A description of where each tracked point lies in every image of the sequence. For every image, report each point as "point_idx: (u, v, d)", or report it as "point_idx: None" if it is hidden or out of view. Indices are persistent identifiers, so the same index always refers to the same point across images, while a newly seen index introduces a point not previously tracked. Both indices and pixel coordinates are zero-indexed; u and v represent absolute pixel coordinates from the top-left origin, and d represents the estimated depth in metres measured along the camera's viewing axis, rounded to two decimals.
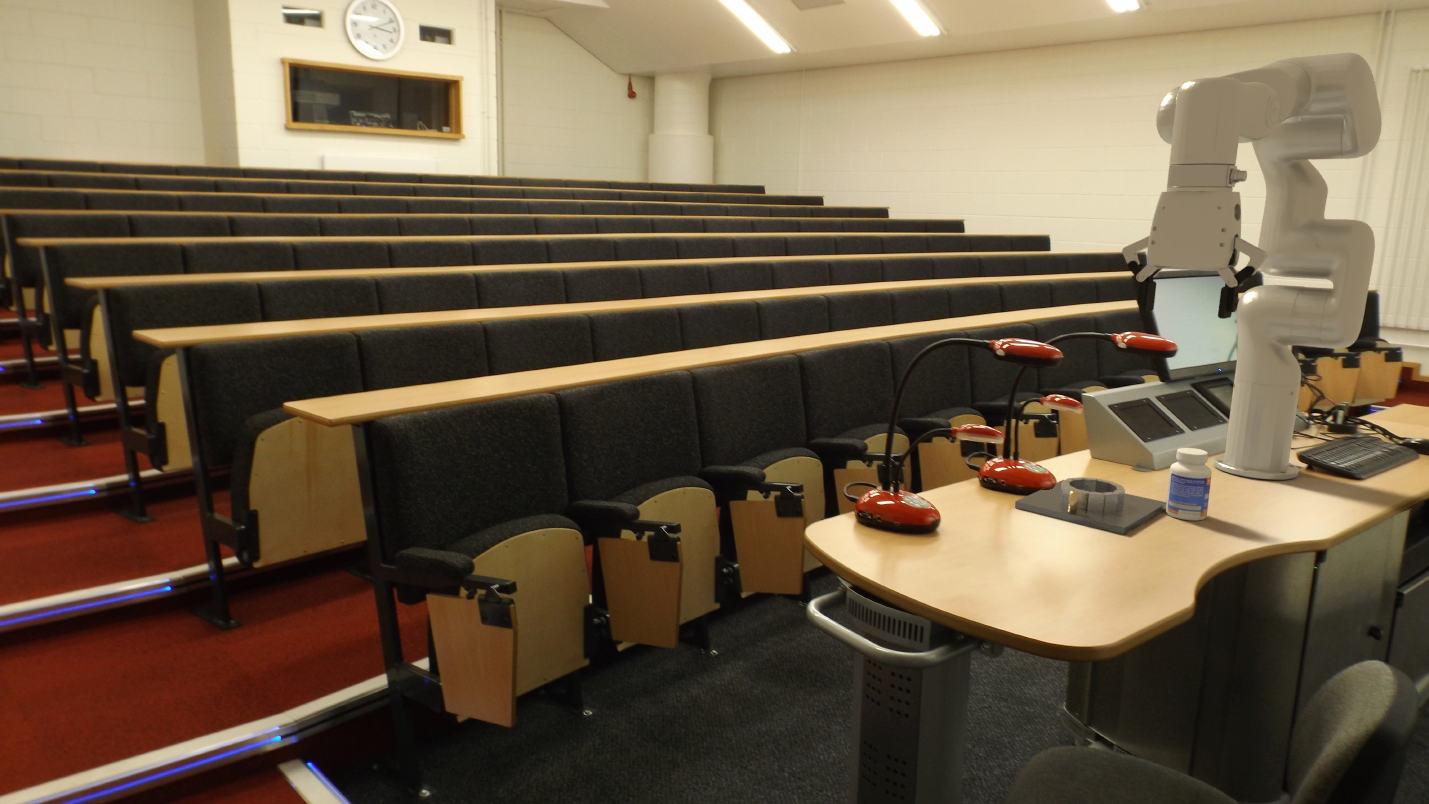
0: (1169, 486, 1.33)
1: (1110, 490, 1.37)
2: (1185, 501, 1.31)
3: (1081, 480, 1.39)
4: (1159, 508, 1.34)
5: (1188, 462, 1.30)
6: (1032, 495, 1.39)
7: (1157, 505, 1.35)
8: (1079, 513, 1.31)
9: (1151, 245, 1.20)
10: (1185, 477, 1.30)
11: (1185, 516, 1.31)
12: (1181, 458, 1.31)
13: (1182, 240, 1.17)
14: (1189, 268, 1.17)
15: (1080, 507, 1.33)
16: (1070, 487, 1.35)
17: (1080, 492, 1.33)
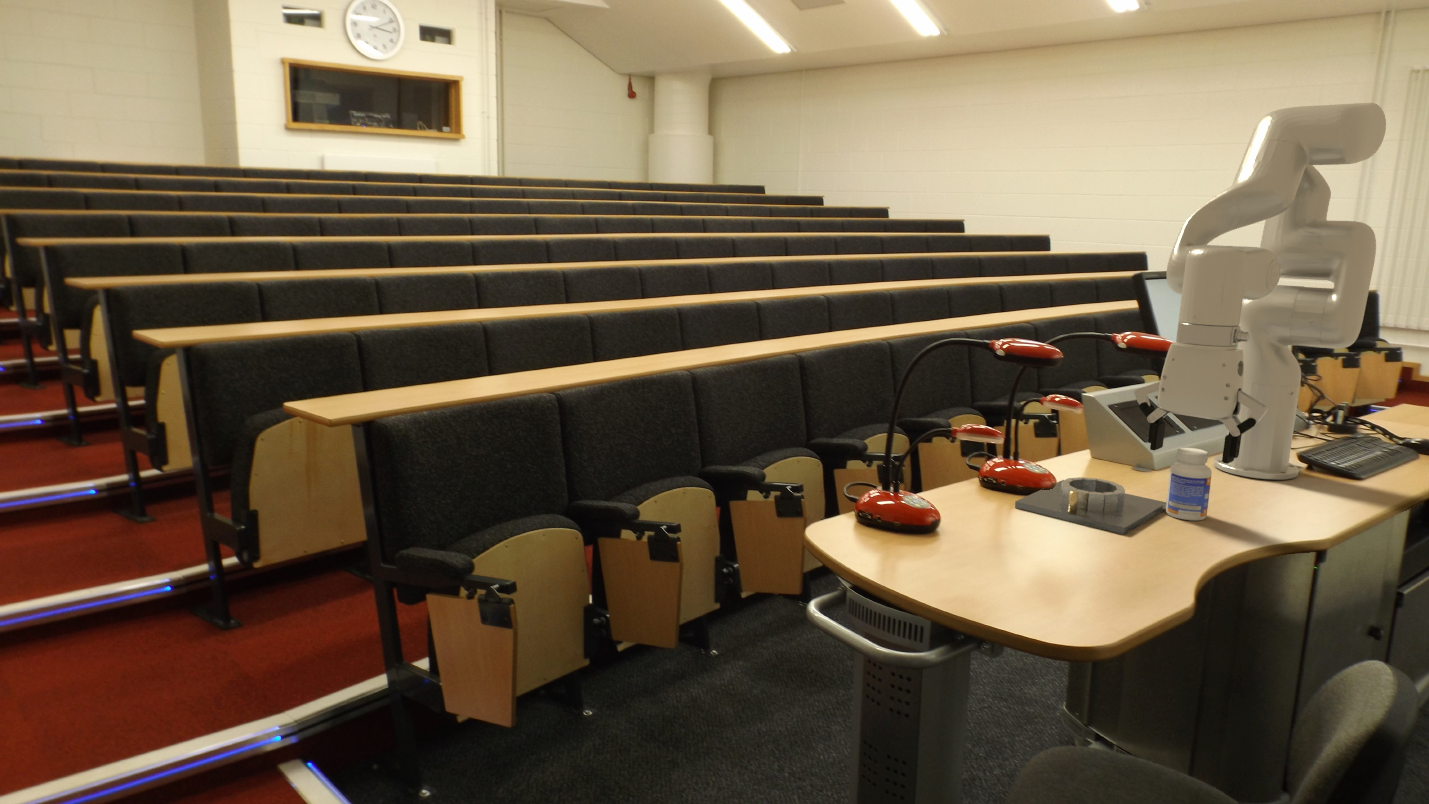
0: (1169, 486, 1.33)
1: (1110, 490, 1.37)
2: (1185, 501, 1.31)
3: (1081, 480, 1.39)
4: (1159, 508, 1.34)
5: (1188, 462, 1.30)
6: (1032, 495, 1.39)
7: (1157, 505, 1.35)
8: (1079, 513, 1.31)
9: (1161, 391, 1.31)
10: (1185, 477, 1.30)
11: (1185, 516, 1.31)
12: (1181, 458, 1.31)
13: (1190, 390, 1.28)
14: (1196, 415, 1.28)
15: (1080, 507, 1.33)
16: (1070, 487, 1.35)
17: (1080, 492, 1.33)
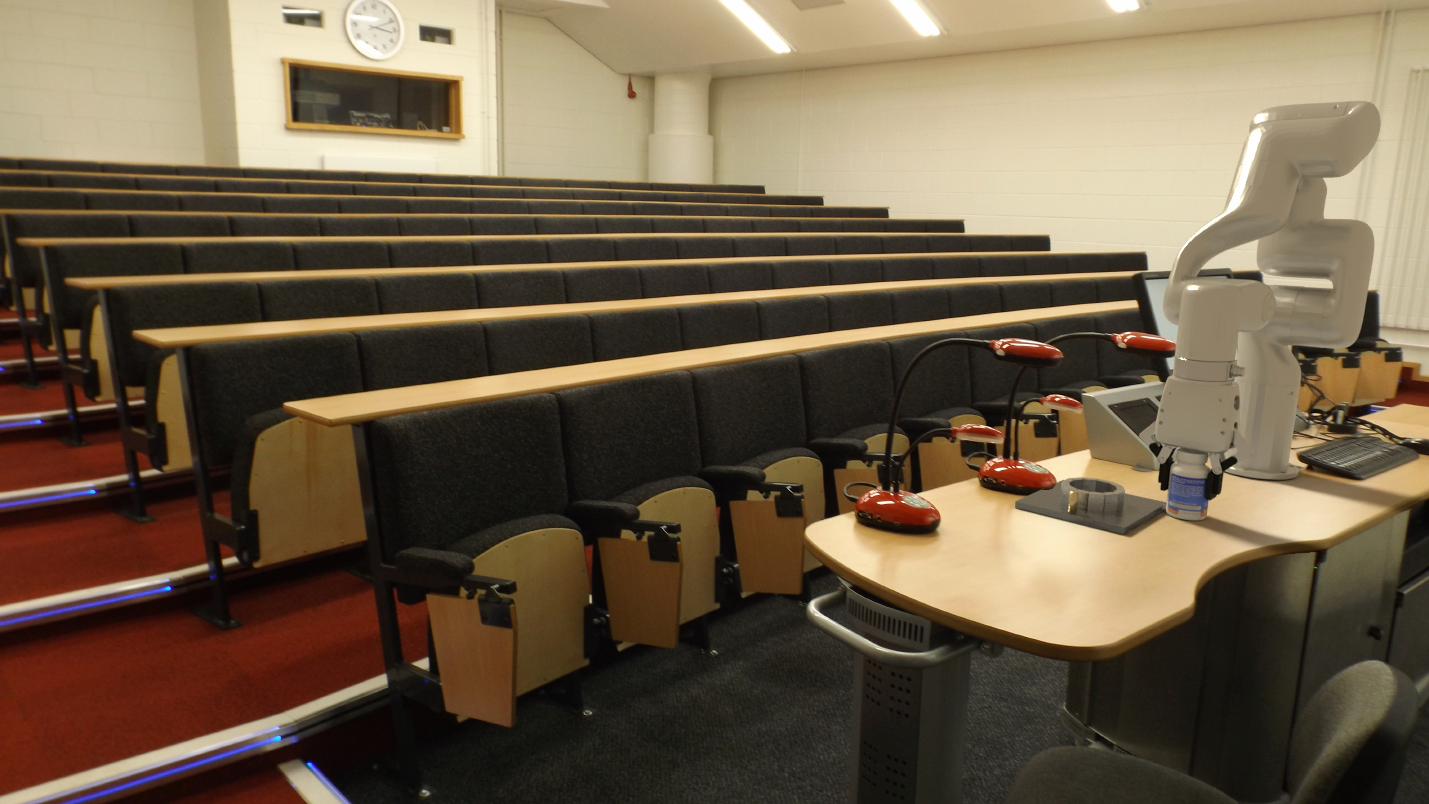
0: (1169, 486, 1.33)
1: (1110, 490, 1.37)
2: (1185, 501, 1.31)
3: (1081, 480, 1.39)
4: (1159, 508, 1.34)
5: (1188, 462, 1.30)
6: (1032, 495, 1.39)
7: (1157, 505, 1.35)
8: (1079, 513, 1.31)
9: (1159, 424, 1.32)
10: (1185, 477, 1.30)
11: (1185, 516, 1.31)
12: (1182, 458, 1.31)
13: (1187, 424, 1.29)
14: (1193, 449, 1.30)
15: (1080, 507, 1.33)
16: (1070, 487, 1.35)
17: (1080, 492, 1.33)
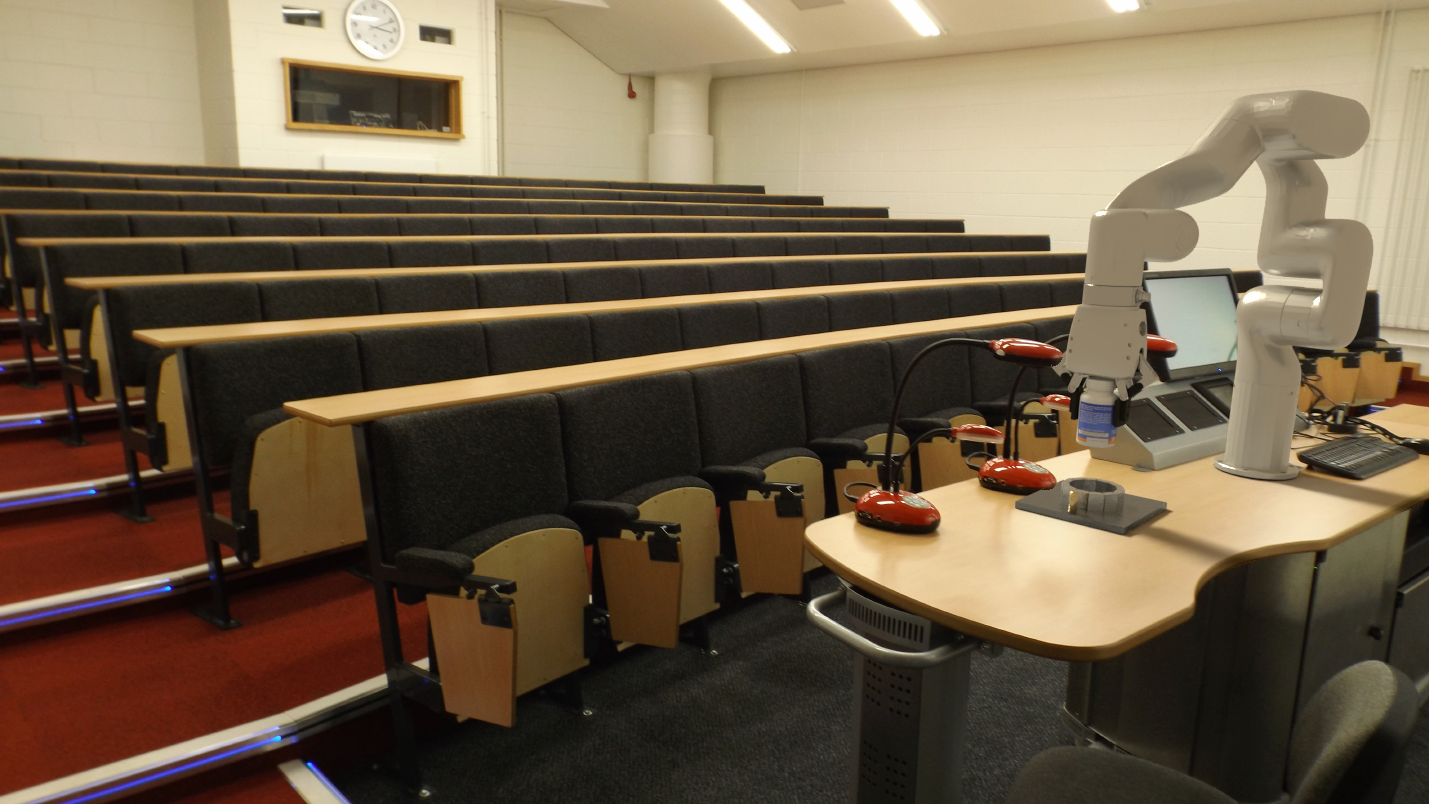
0: (1079, 414, 1.34)
1: (1110, 490, 1.37)
2: (1092, 428, 1.31)
3: (1081, 480, 1.39)
4: (1159, 508, 1.34)
5: (1096, 390, 1.31)
6: (1032, 495, 1.39)
7: (1157, 505, 1.35)
8: (1079, 513, 1.31)
9: (1069, 353, 1.33)
10: (1093, 404, 1.31)
11: (1093, 444, 1.32)
12: (1090, 386, 1.32)
13: (1095, 351, 1.30)
14: (1101, 376, 1.30)
15: (1080, 507, 1.33)
16: (1070, 487, 1.35)
17: (1080, 492, 1.33)
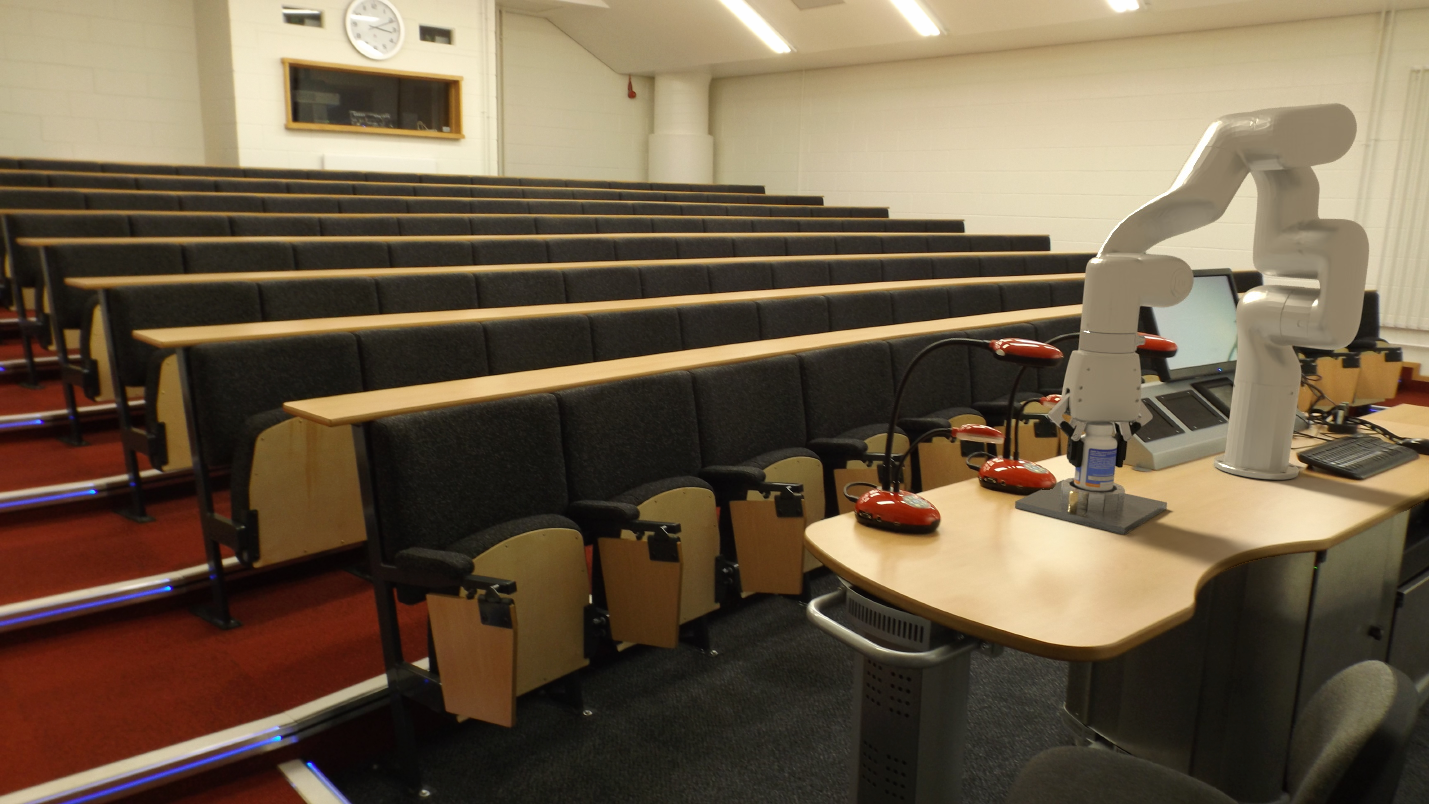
0: (1085, 461, 1.33)
1: (1110, 490, 1.37)
2: (1106, 473, 1.32)
3: None
4: (1159, 508, 1.34)
5: (1105, 435, 1.32)
6: (1032, 495, 1.39)
7: (1157, 505, 1.35)
8: (1079, 513, 1.31)
9: (1077, 402, 1.31)
10: (1106, 450, 1.32)
11: (1106, 488, 1.33)
12: (1098, 432, 1.32)
13: (1105, 397, 1.30)
14: (1108, 421, 1.32)
15: (1080, 507, 1.33)
16: (1070, 487, 1.35)
17: (1080, 492, 1.33)
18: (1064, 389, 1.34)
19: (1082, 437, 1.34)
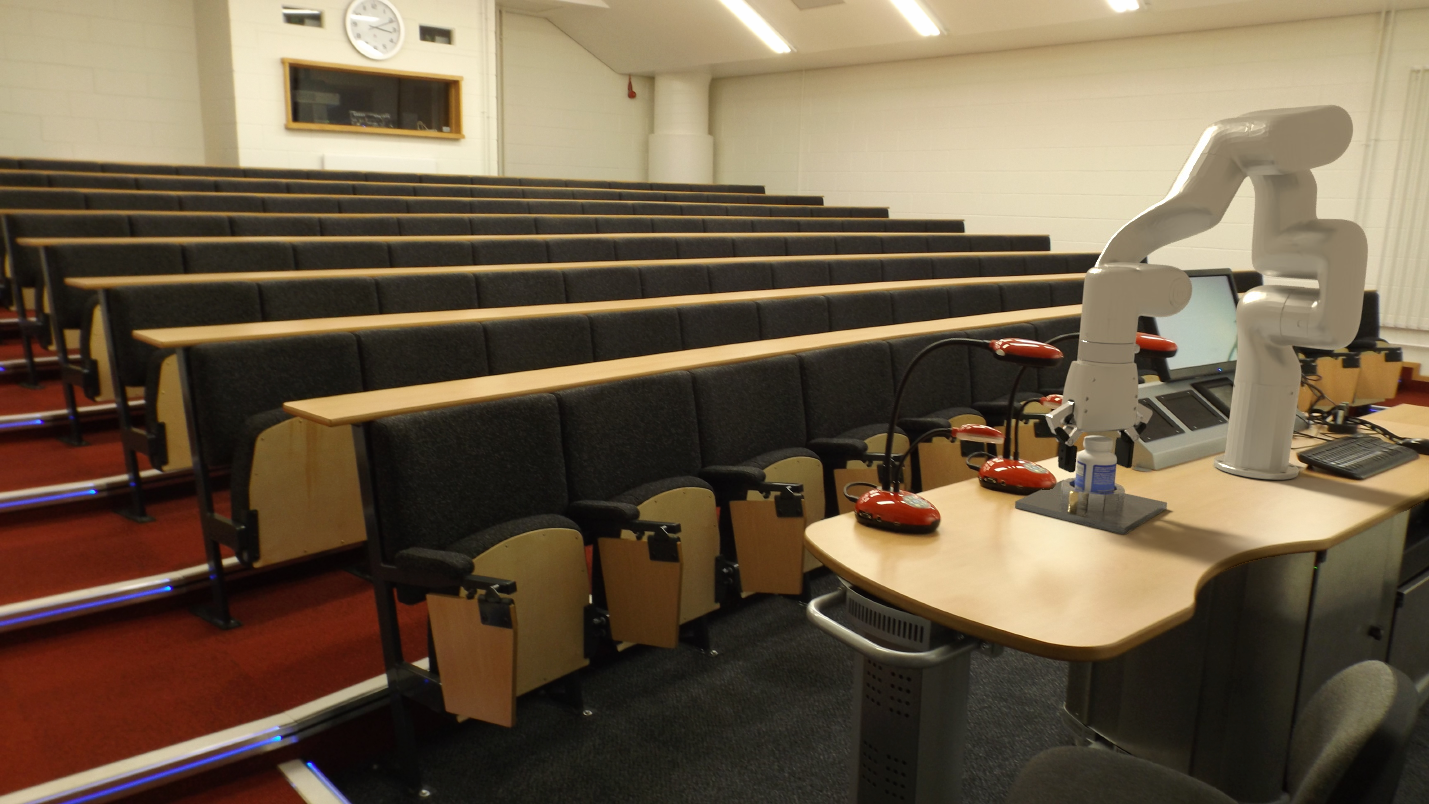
0: (1089, 478, 1.33)
1: None
2: (1109, 488, 1.33)
3: None
4: (1159, 508, 1.34)
5: (1107, 450, 1.33)
6: (1032, 495, 1.39)
7: (1157, 505, 1.35)
8: (1079, 513, 1.31)
9: (1083, 413, 1.30)
10: (1110, 465, 1.32)
11: None
12: (1102, 448, 1.32)
13: (1109, 407, 1.31)
14: (1110, 430, 1.32)
15: (1080, 507, 1.33)
16: (1070, 487, 1.35)
17: (1080, 492, 1.33)
18: (1065, 400, 1.33)
19: (1083, 454, 1.34)
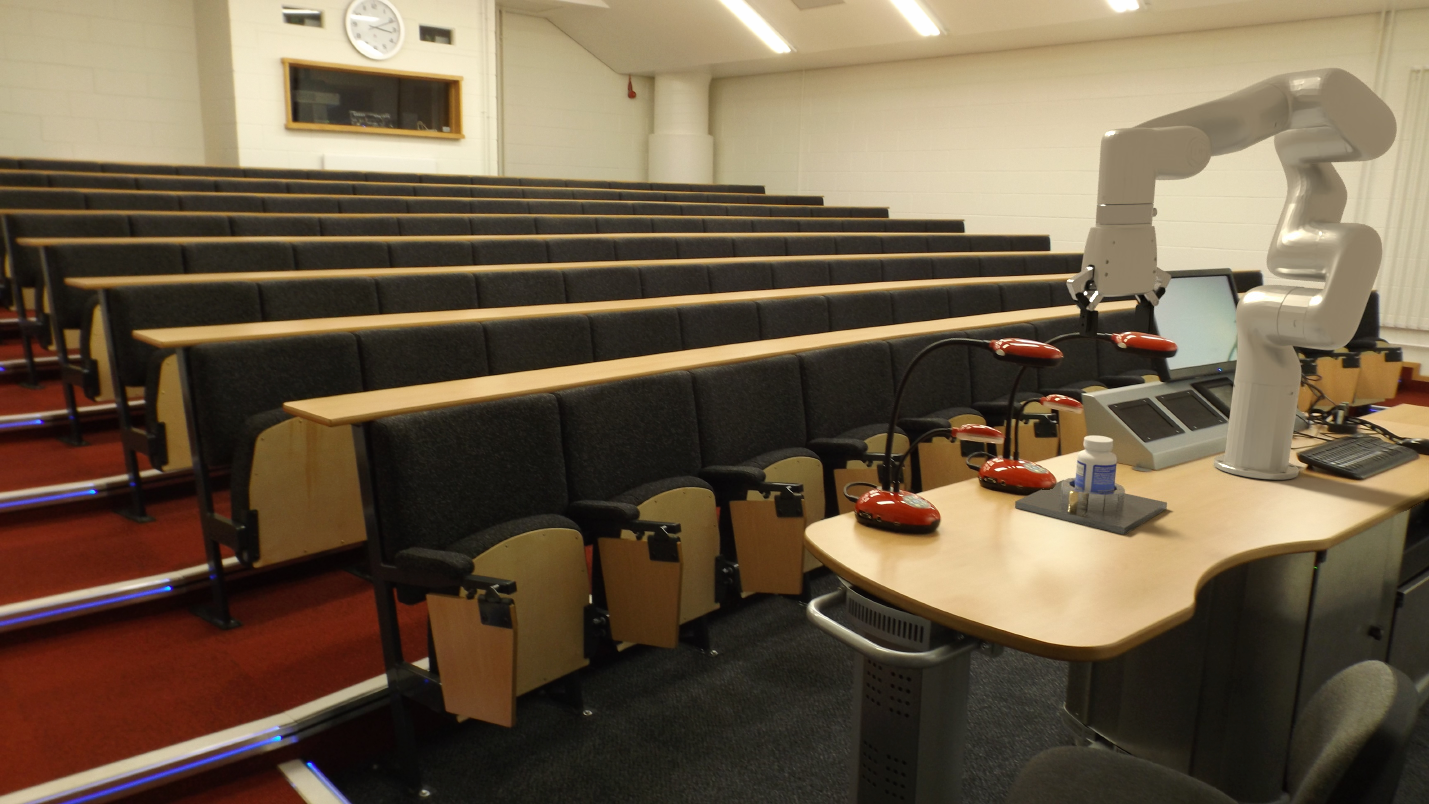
0: (1089, 478, 1.33)
1: None
2: (1109, 488, 1.33)
3: None
4: (1159, 508, 1.34)
5: (1107, 450, 1.33)
6: (1032, 495, 1.39)
7: (1157, 505, 1.35)
8: (1079, 513, 1.31)
9: (1104, 277, 1.31)
10: (1110, 465, 1.32)
11: None
12: (1102, 448, 1.32)
13: (1129, 270, 1.31)
14: (1130, 294, 1.33)
15: (1080, 507, 1.33)
16: (1070, 487, 1.35)
17: (1080, 492, 1.33)
18: (1085, 267, 1.34)
19: (1084, 454, 1.34)
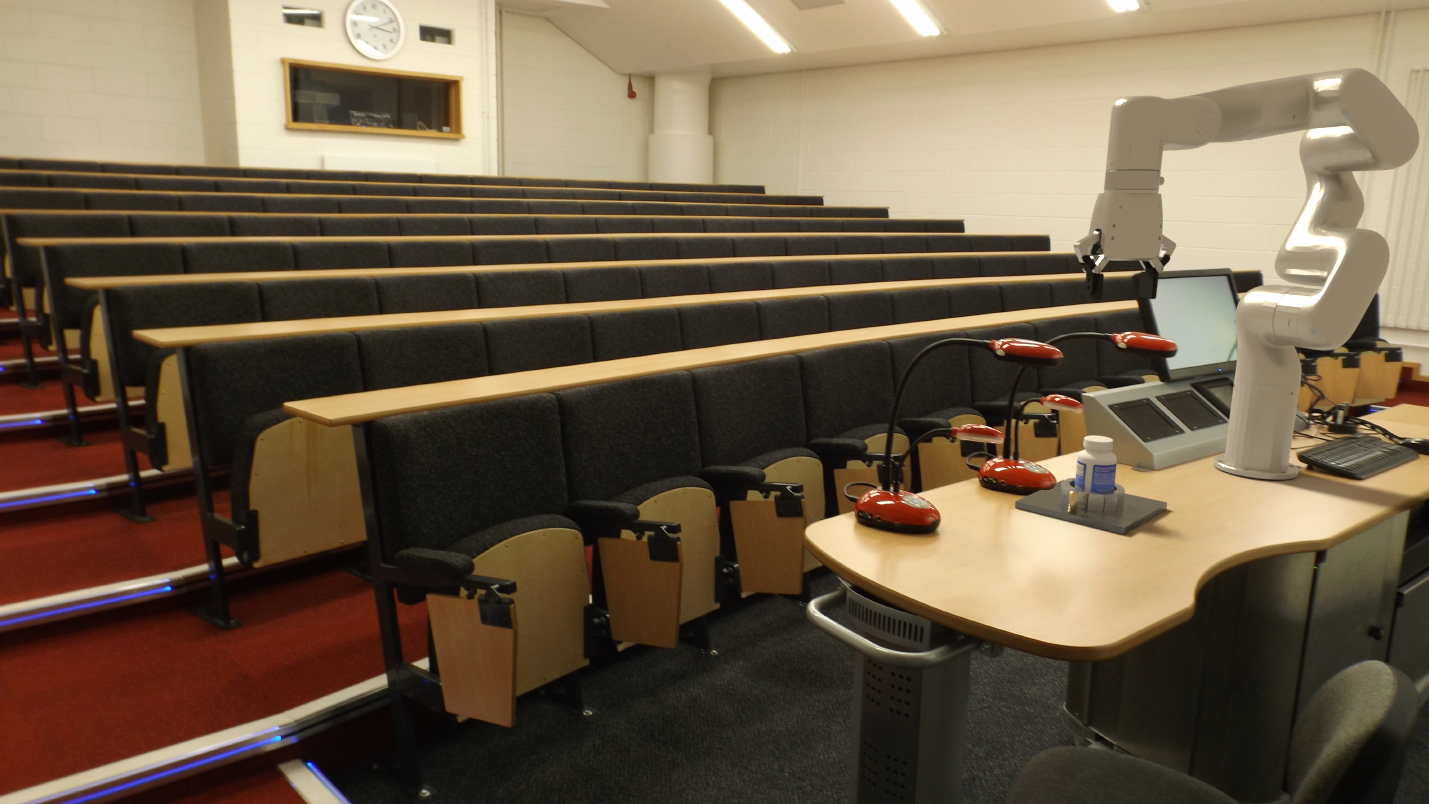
0: (1089, 478, 1.33)
1: None
2: (1109, 488, 1.33)
3: None
4: (1159, 508, 1.34)
5: (1107, 450, 1.33)
6: (1032, 495, 1.39)
7: (1157, 505, 1.35)
8: (1079, 513, 1.31)
9: (1110, 240, 1.35)
10: (1110, 465, 1.32)
11: None
12: (1102, 448, 1.32)
13: (1134, 235, 1.35)
14: (1135, 259, 1.37)
15: (1080, 507, 1.33)
16: (1070, 487, 1.35)
17: (1080, 492, 1.33)
18: (1092, 231, 1.38)
19: (1084, 454, 1.34)
